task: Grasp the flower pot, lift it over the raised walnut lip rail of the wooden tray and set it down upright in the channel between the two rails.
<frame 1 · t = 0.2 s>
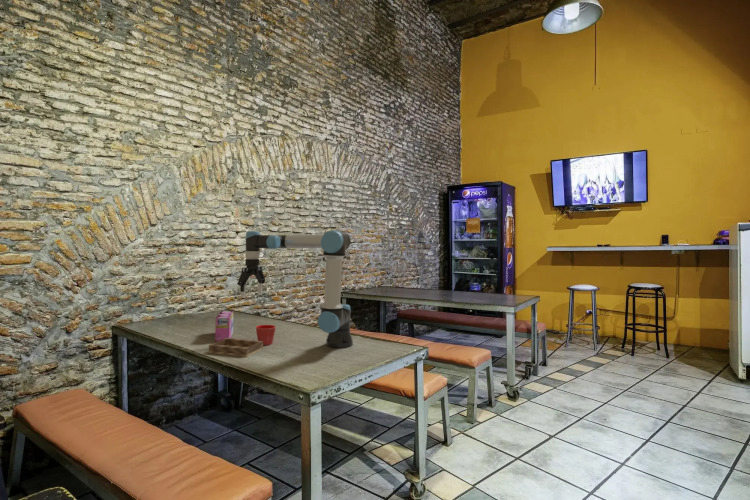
hand: (251, 296, 237), 27 cm above the table, fingers open, 13 cm apart
gum box: (224, 336, 251), on the table
flower pot: (265, 343, 237), on the table
wooden tray: (236, 350, 221), on the table
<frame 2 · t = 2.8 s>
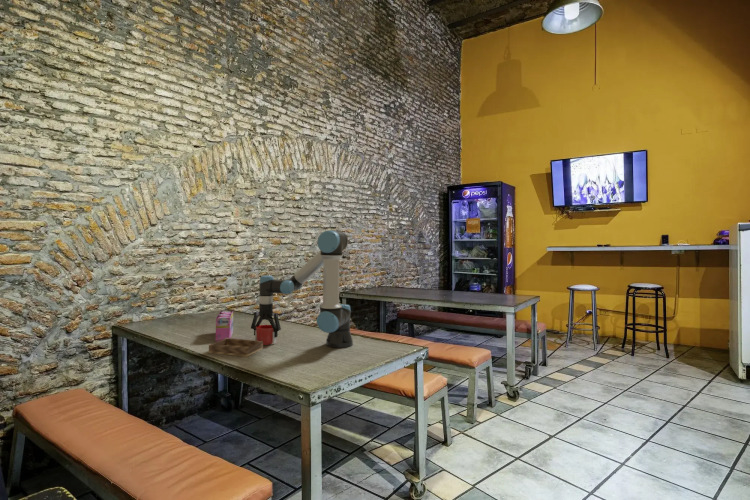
hand: (265, 342, 237), 1 cm above the table, fingers closed on flower pot, 10 cm apart
flower pot: (265, 343, 237), on the table, touching gripper
everything else where it was.
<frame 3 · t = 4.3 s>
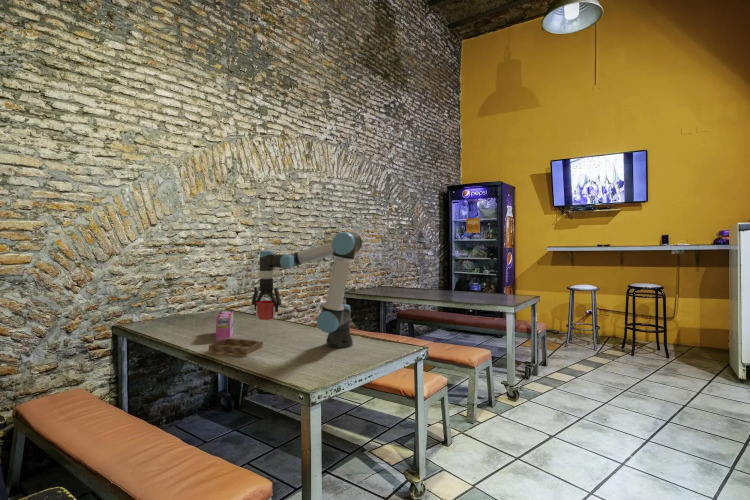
hand: (266, 317, 236), 15 cm above the table, fingers closed on flower pot, 10 cm apart
flower pot: (266, 319, 236), point 14 cm above the table, touching gripper
everything else where it was.
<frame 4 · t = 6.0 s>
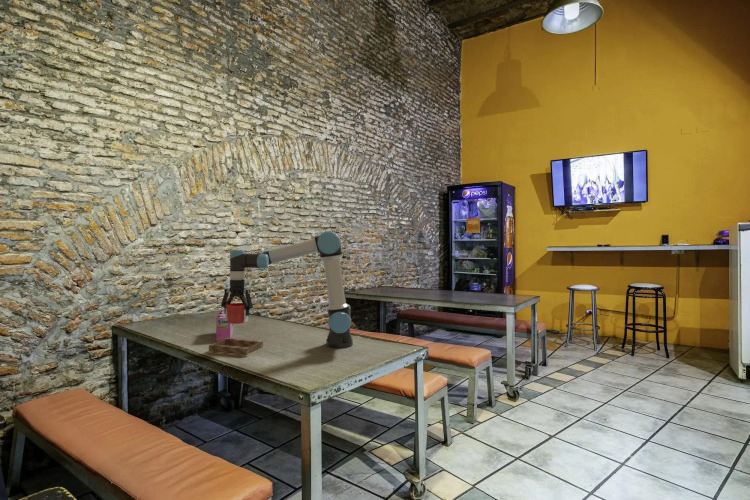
hand: (236, 320, 221), 16 cm above the table, fingers closed on flower pot, 10 cm apart
flower pot: (236, 322, 221), point 15 cm above the table, touching gripper
everything else where it was.
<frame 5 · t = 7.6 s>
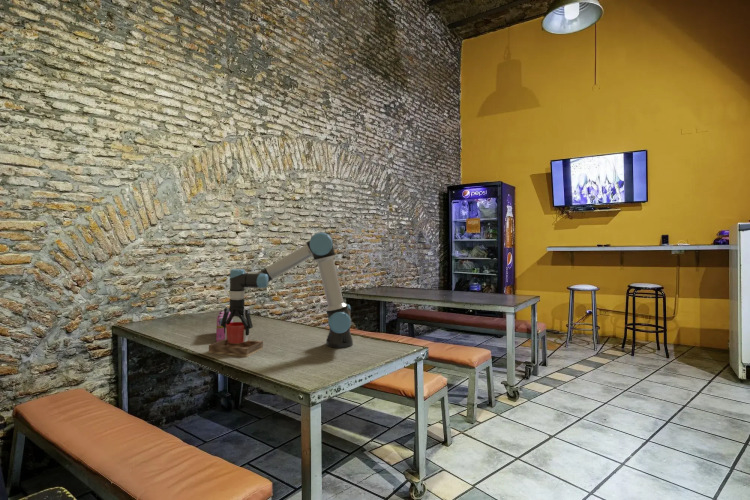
hand: (236, 340, 221), 5 cm above the table, fingers closed on flower pot, 10 cm apart
flower pot: (236, 342, 221), point 4 cm above the table, touching gripper
everything else where it was.
when the fingers open (3 cm above the table, at t = 9.1 s): flower pot drops 1 cm, resting on wooden tray.
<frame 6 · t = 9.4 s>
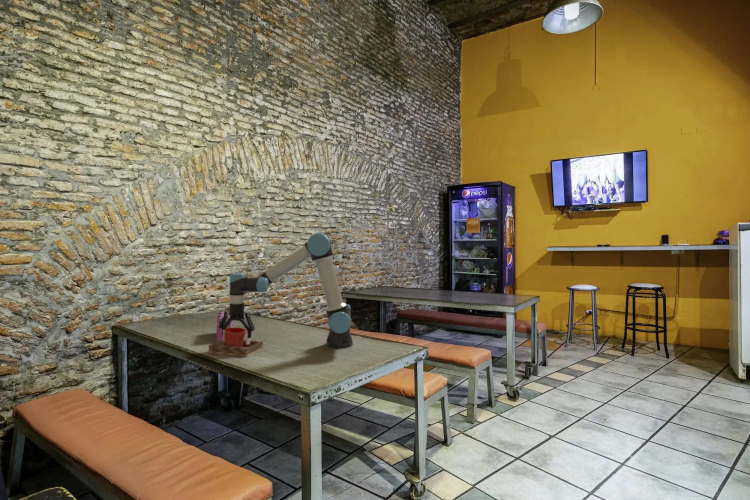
hand: (236, 342, 221), 4 cm above the table, fingers open, 13 cm apart
flower pot: (233, 348, 222), point 1 cm above the table, touching gripper, wooden tray
everything else where it was.
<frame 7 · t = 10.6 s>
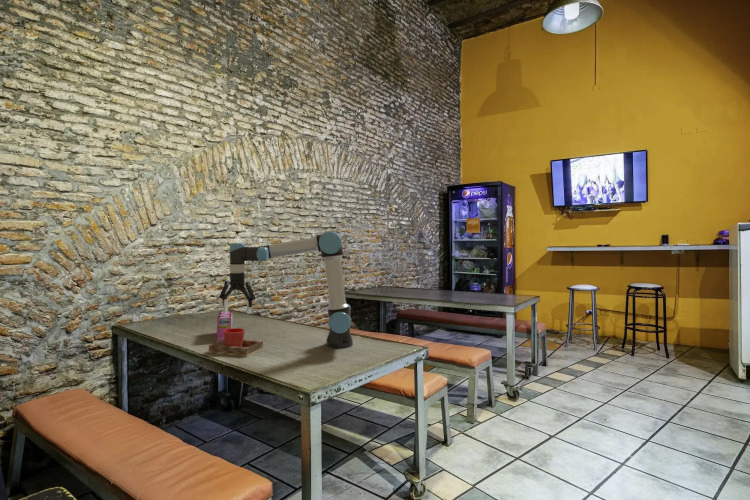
hand: (237, 312, 220), 20 cm above the table, fingers open, 13 cm apart
flower pot: (233, 348, 222), point 1 cm above the table, touching wooden tray
everything else where it was.
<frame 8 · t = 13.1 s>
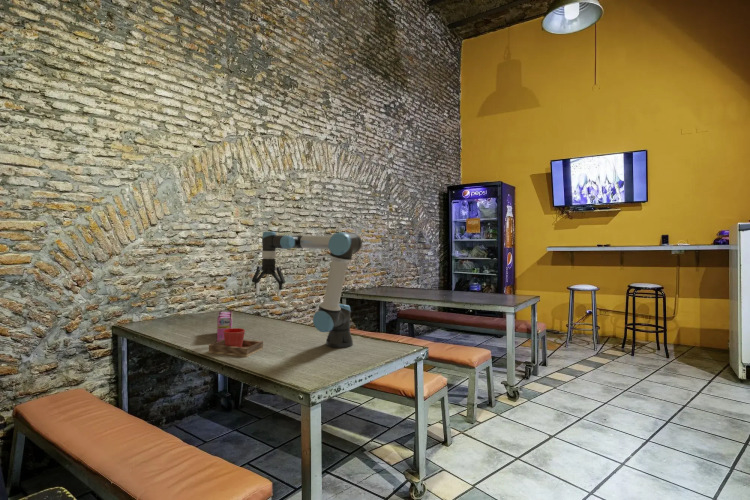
hand: (268, 294, 242), 27 cm above the table, fingers open, 13 cm apart
at the end: flower pot inside the target area on the wooden tray (1.7 cm from its centre), point 0.8 cm above the wooden tray's base; flower pot tilted 0°; the gripper is holding nothing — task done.
